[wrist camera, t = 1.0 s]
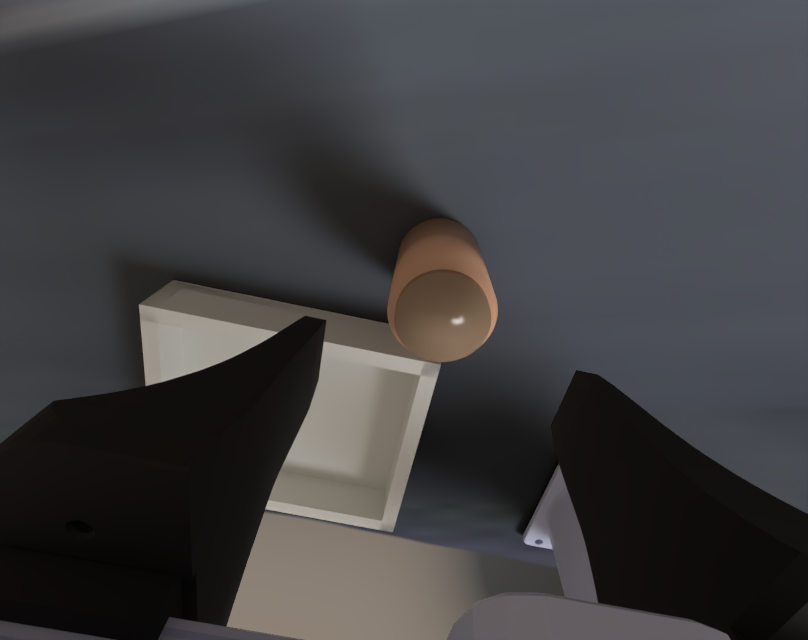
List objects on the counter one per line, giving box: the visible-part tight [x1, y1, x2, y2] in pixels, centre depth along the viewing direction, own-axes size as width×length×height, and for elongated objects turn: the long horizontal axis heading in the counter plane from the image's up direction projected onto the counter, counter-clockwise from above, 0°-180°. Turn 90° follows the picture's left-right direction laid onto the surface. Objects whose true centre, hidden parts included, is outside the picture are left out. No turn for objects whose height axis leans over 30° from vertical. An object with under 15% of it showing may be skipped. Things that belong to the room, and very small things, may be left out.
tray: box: [139, 280, 441, 532], centre depth 24 cm, size 14×12×3 cm
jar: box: [387, 218, 498, 362], centre depth 18 cm, size 4×4×7 cm
